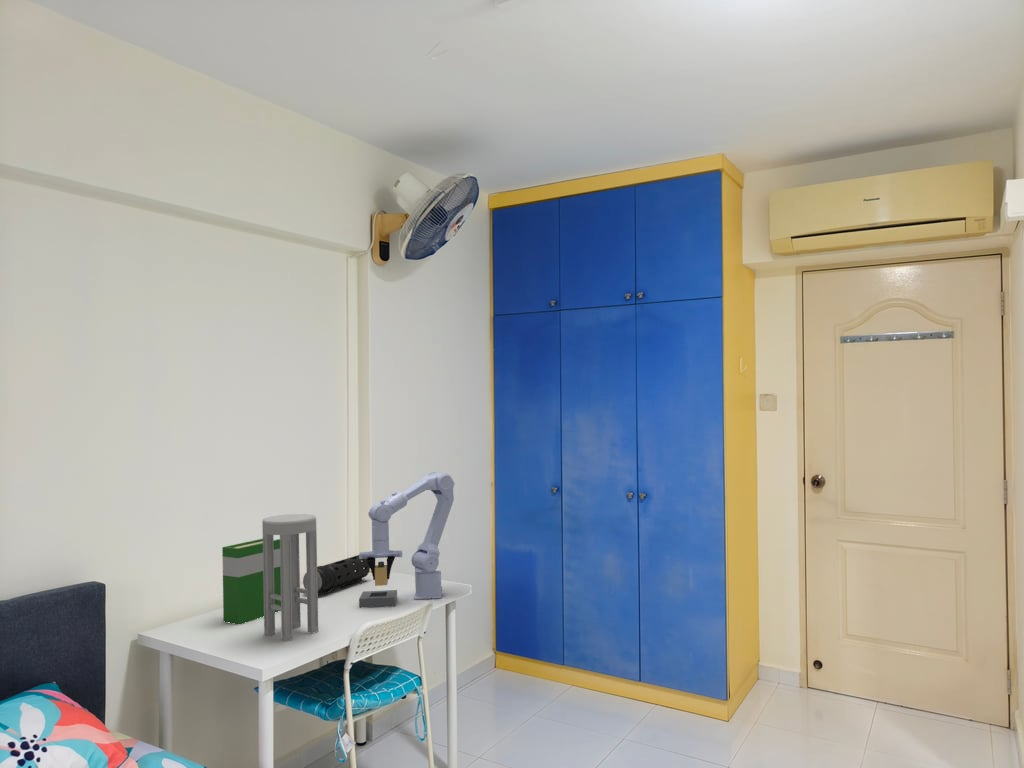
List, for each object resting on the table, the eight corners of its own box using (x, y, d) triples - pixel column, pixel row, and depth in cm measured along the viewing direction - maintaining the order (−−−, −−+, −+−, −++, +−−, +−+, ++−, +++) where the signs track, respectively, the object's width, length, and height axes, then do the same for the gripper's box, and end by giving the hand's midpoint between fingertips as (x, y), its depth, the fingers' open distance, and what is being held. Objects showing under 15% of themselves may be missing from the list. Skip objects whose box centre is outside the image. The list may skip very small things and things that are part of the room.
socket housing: (397, 598, 260) (397, 589, 260) (394, 606, 250) (394, 597, 250) (363, 600, 259) (362, 591, 259) (359, 607, 249) (359, 598, 249)
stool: (298, 622, 233) (296, 512, 234) (328, 631, 224) (325, 515, 225) (254, 635, 221) (252, 518, 222) (283, 644, 212) (281, 523, 213)
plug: (387, 582, 254) (387, 560, 254) (386, 585, 250) (386, 563, 250) (376, 582, 253) (375, 561, 254) (375, 585, 249) (374, 563, 250)
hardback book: (266, 608, 252) (265, 537, 252) (282, 610, 248) (280, 539, 249) (223, 621, 236) (222, 547, 237) (239, 624, 233) (237, 548, 233)
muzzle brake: (370, 581, 287) (370, 554, 287) (321, 599, 262) (321, 570, 262) (351, 579, 291) (351, 553, 292) (301, 596, 266) (300, 567, 267)
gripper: (357, 542, 247) (358, 582, 247) (401, 540, 249) (401, 580, 248) (360, 538, 254) (361, 577, 254) (402, 536, 256) (403, 575, 255)
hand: (381, 579), depth 252 cm, fingers closed on plug, 4 cm apart
